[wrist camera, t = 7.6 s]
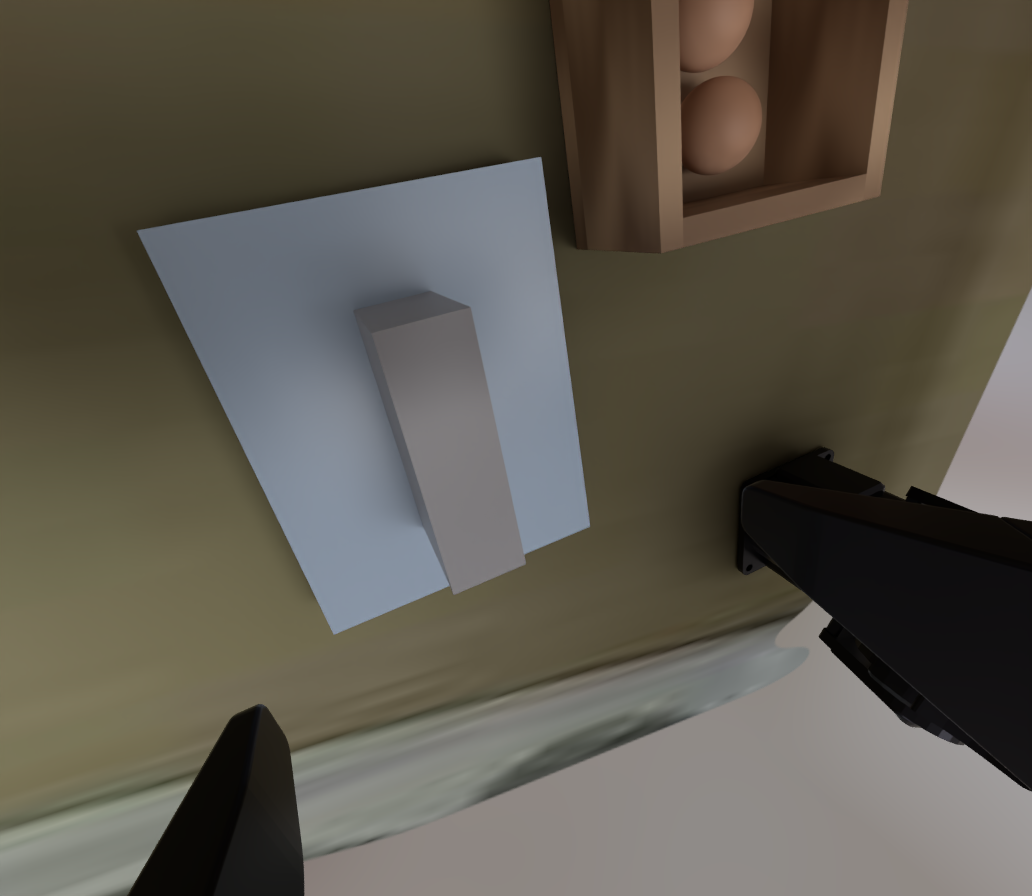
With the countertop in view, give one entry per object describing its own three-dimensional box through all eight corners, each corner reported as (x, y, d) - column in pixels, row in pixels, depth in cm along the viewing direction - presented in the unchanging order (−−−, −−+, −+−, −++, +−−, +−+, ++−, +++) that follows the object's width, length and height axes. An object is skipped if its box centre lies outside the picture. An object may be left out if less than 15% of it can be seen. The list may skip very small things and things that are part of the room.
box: (761, 204, 21) (880, 195, 17) (577, 249, 19) (661, 253, 14) (781, -215, 16) (964, -382, 11) (523, -227, 13) (633, -449, 9)
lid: (568, 504, 23) (646, 581, 18) (330, 600, 20) (343, 725, 15) (516, 164, 17) (614, 133, 12) (156, 231, 14) (74, 228, 9)
